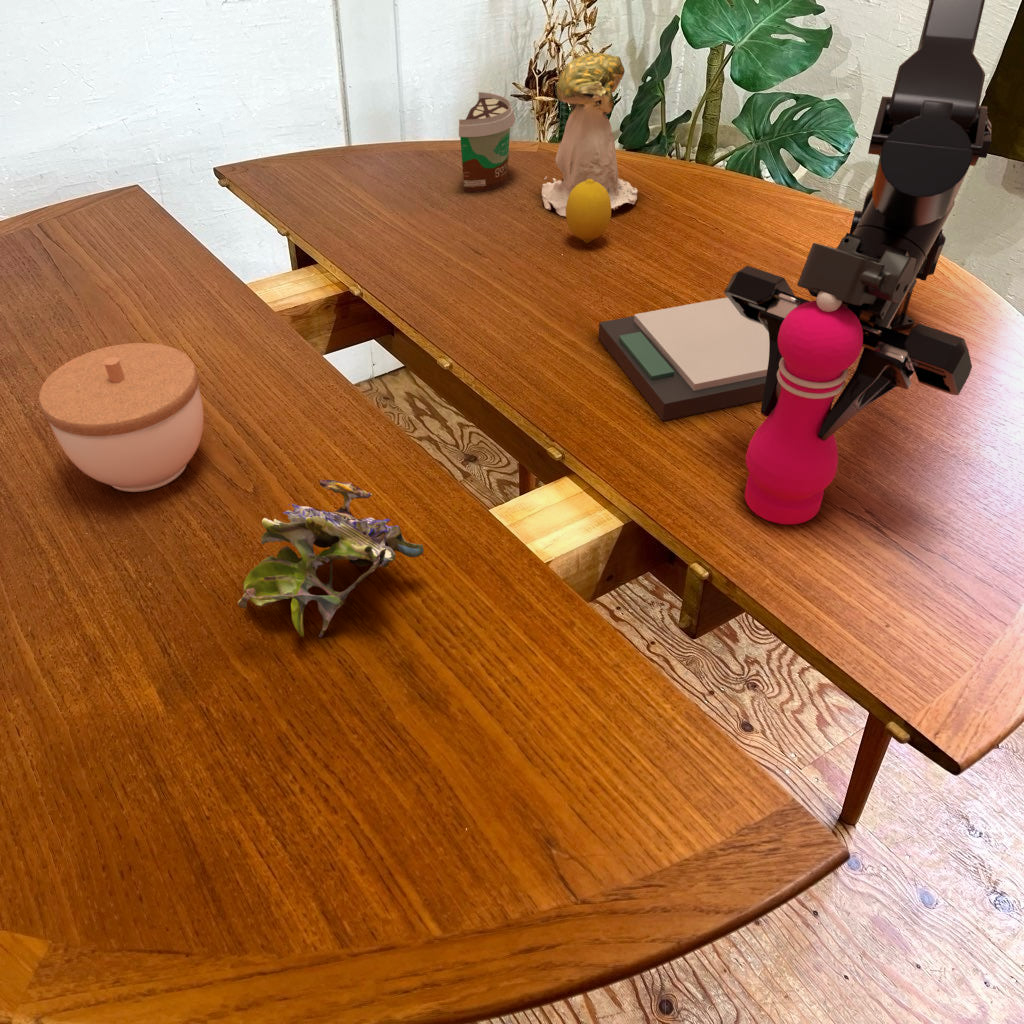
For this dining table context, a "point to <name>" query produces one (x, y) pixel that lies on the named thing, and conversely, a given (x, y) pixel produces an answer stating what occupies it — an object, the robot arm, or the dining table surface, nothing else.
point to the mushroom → (588, 132)
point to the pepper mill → (802, 412)
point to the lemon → (588, 210)
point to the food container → (486, 143)
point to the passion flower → (321, 554)
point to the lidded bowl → (126, 414)
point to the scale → (691, 356)
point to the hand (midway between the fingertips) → (791, 426)
